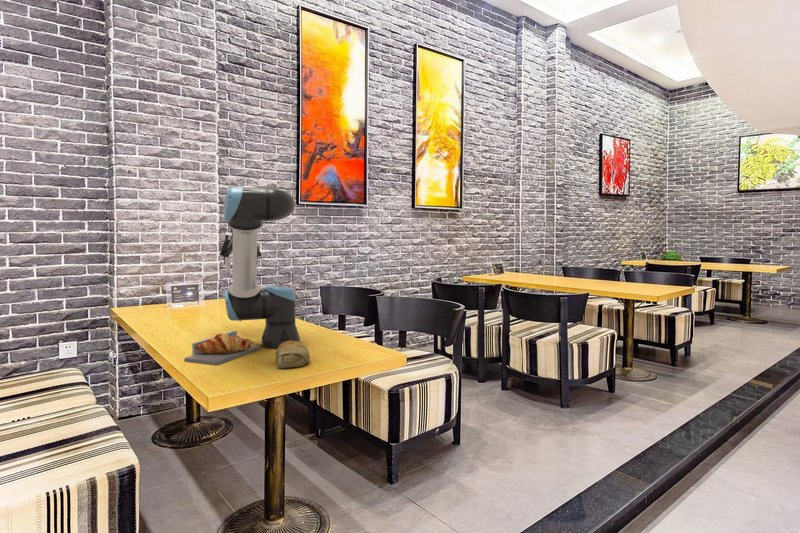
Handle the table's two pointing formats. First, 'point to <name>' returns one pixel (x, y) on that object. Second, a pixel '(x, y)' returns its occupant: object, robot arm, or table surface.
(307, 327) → the table surface
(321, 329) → the table surface
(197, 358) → the serving plate
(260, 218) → the robot arm
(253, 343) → the croissant
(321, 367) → the table surface
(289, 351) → the pastry
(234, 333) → the divider
